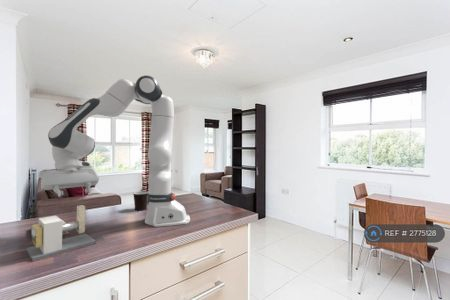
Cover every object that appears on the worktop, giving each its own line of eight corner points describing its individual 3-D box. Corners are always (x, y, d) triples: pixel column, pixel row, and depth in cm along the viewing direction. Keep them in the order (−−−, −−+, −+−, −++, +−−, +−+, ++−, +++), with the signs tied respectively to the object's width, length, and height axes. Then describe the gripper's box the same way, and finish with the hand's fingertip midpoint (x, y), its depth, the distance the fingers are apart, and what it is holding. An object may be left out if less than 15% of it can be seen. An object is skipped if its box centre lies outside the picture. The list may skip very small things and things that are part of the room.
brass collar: (37, 241, 78) (38, 223, 78) (41, 246, 74) (42, 227, 74) (32, 242, 77) (32, 224, 77) (35, 247, 73) (36, 229, 73)
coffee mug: (135, 207, 137) (135, 191, 137) (149, 207, 137) (150, 191, 137) (129, 212, 125) (129, 195, 125) (144, 212, 126) (144, 195, 126)
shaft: (82, 230, 87) (82, 204, 87) (84, 232, 85) (85, 206, 85) (31, 242, 75) (31, 213, 75) (33, 244, 73) (33, 214, 73)
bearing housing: (85, 235, 92) (86, 209, 92) (95, 243, 84) (96, 214, 84) (26, 250, 78) (26, 219, 78) (32, 261, 70) (32, 227, 70)
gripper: (39, 165, 87) (44, 193, 81) (95, 163, 103) (103, 186, 96) (36, 175, 90) (41, 203, 84) (92, 171, 106) (99, 195, 99)
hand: (75, 194), depth 90 cm, fingers open, 8 cm apart
